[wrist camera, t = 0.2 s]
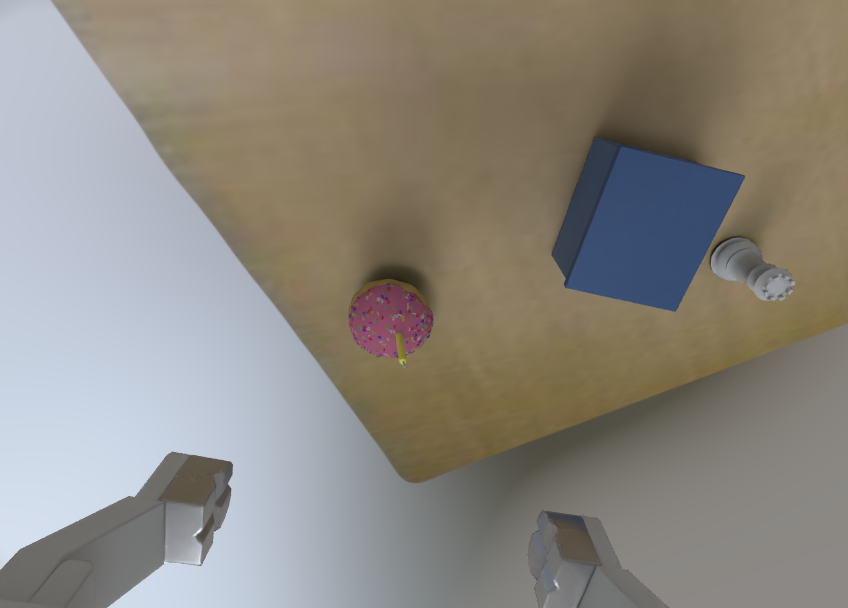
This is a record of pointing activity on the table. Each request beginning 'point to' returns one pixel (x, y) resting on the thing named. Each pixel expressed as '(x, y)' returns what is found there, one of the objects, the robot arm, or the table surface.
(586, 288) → the blue box
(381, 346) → the cupcake
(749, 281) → the rook chess piece
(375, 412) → the table surface
